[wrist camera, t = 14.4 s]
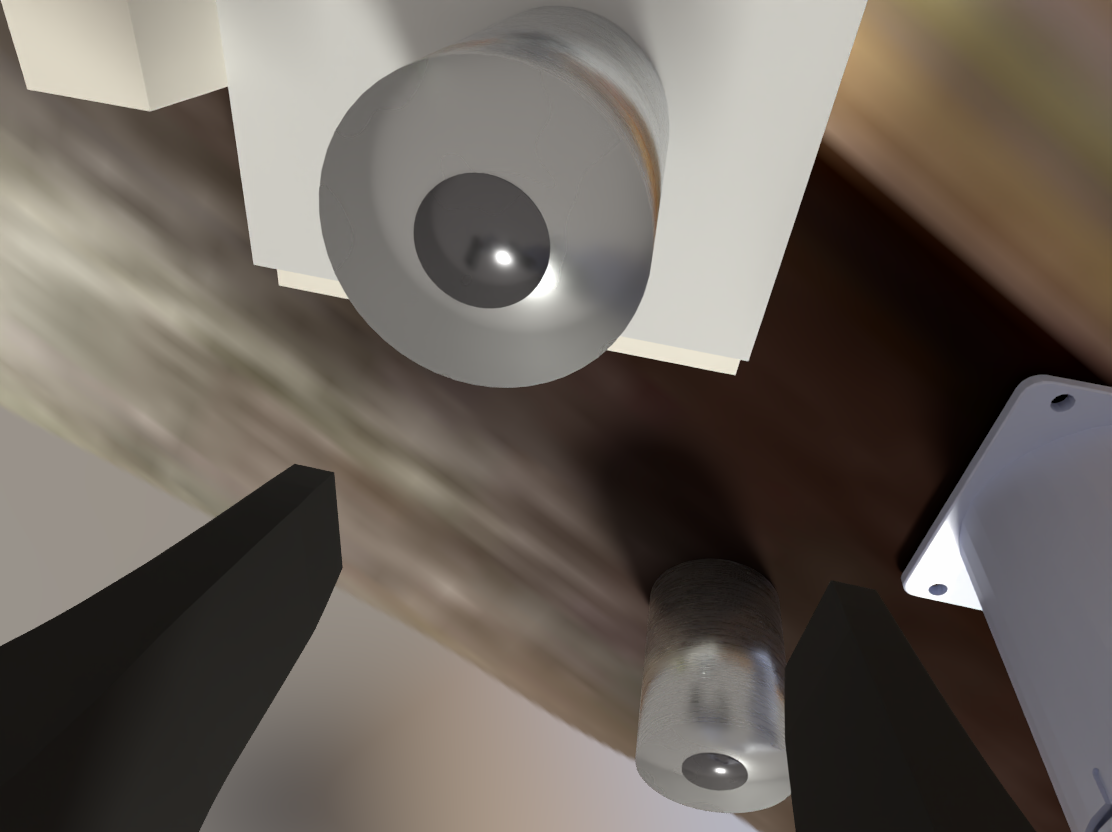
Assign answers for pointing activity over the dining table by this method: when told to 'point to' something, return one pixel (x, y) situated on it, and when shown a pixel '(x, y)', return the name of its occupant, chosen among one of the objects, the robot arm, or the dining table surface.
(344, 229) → the cylinder
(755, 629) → the cylinder
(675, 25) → the scale
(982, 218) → the dining table surface
